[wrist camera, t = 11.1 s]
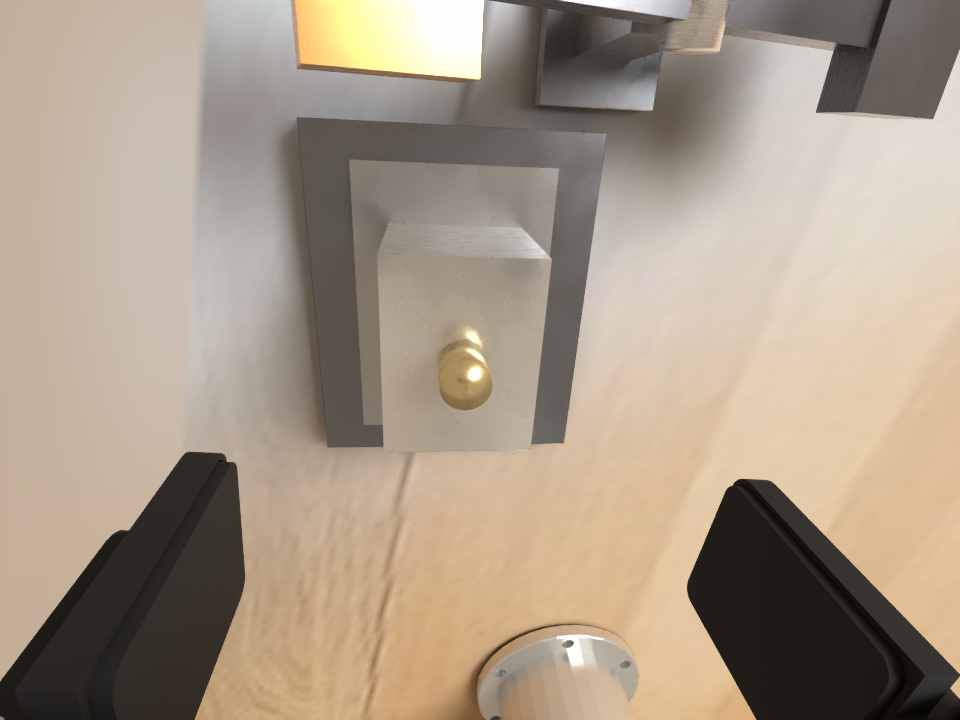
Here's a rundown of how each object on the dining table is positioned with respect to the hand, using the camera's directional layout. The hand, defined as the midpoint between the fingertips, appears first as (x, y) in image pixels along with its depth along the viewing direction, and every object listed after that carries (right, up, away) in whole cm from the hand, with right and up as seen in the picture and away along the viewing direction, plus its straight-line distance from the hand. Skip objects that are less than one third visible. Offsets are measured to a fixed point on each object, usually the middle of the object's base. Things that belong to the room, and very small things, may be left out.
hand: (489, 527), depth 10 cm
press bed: (0, +10, +15) cm, 18 cm away
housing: (-1, +6, +15) cm, 16 cm away
